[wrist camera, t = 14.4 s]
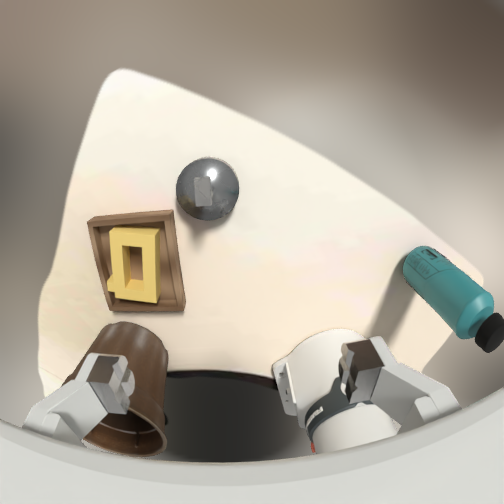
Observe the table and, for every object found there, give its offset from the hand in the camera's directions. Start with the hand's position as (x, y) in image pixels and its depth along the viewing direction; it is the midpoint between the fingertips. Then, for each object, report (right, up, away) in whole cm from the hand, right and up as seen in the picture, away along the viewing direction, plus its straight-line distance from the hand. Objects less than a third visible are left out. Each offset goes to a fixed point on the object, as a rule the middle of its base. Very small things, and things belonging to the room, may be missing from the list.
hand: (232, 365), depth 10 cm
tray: (-14, +3, +26) cm, 30 cm away
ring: (-14, +3, +26) cm, 29 cm away
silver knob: (-4, +12, +23) cm, 26 cm away
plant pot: (-19, -12, +33) cm, 39 cm away
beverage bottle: (+25, +3, +29) cm, 38 cm away
